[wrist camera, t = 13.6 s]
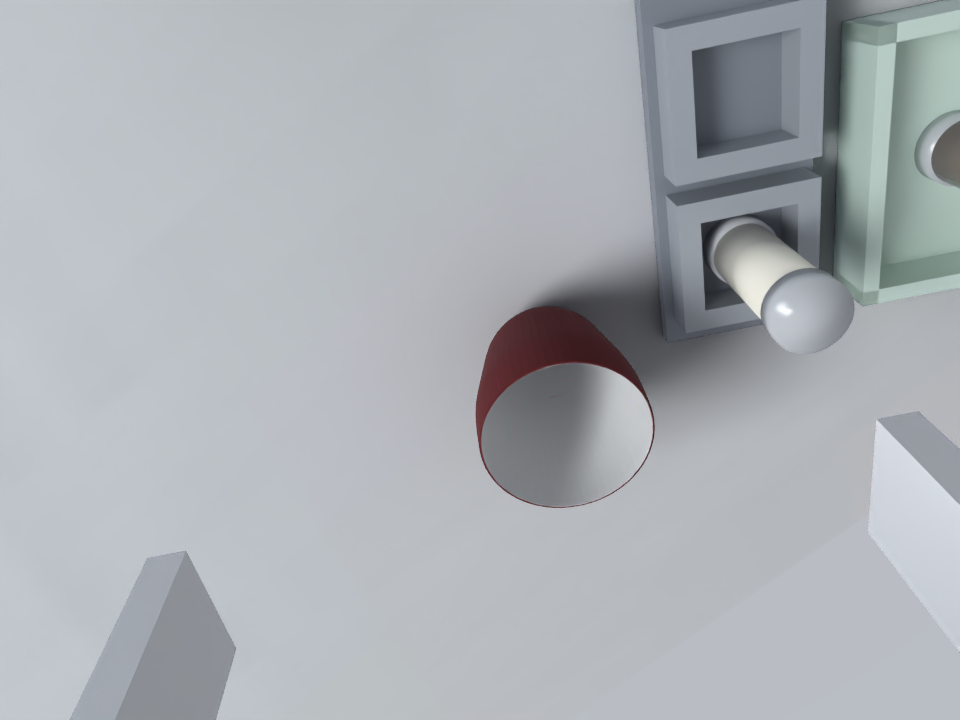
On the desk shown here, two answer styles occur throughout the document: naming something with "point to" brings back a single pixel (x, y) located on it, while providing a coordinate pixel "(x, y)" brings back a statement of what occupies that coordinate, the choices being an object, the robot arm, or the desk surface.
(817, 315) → the fuse
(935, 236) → the tray
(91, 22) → the desk surface
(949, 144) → the fuse
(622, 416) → the mug
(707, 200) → the block
